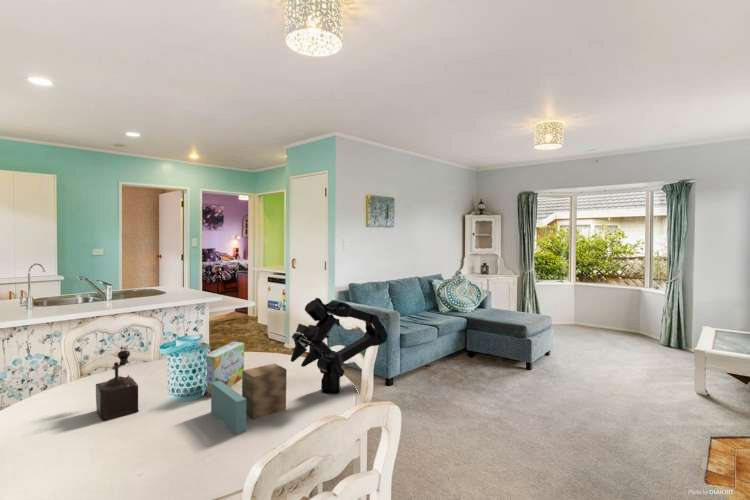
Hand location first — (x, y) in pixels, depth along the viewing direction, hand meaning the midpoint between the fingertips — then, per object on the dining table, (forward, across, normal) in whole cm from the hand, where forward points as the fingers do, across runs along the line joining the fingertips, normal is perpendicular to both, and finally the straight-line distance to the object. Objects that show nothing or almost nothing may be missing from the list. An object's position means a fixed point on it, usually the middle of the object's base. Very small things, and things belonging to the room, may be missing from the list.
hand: (296, 363), depth 146 cm
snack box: (+20, -30, 0) cm, 36 cm away
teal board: (+27, 0, -8) cm, 28 cm away
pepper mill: (+45, -32, -26) cm, 61 cm away
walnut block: (+18, 0, +1) cm, 18 cm away
